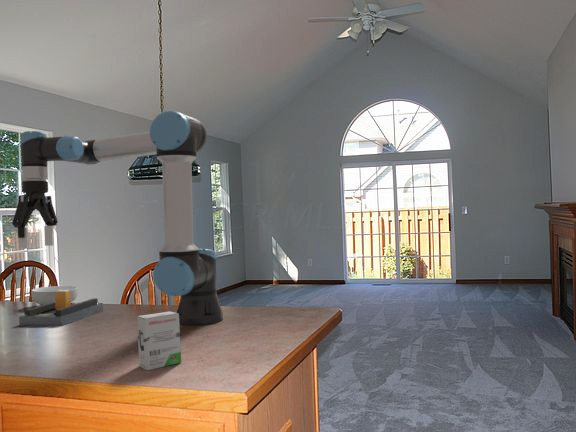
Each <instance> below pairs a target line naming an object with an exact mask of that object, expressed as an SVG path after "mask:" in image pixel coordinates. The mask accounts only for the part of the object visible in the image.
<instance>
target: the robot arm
mask: <svg viewBox="0 0 576 432" xmlns="http://www.w3.org/2000/svg"><path fill="white" fill-rule="evenodd" d="M47 135H48V134H47V133H46V132H45V131H38V130H32V131H31V130H27V131H23V132H22V133H21V136H20V151H21V154H20V155H21V176H22V177H21V179H22V180H23V181H22V182H21V190H22V191H21V192H22V193H24V194H25V195H24V194H23V195H21V194H20V195H18V202H17V206H16V209H15V213H14V216H13V219H12V223H11V224H12V226H13V227H14V228H17V237H18V239H17V240H18V249H19V250H20V249H21V250H22V249H23V250H24V249H29V228H28V227H27V225H28V222H29V220H30V219H31V216H32V214H33V212H34V211H37V212H39V214H40V216H41V218H42V220H43V221H44V224H45V225H44V226H43V227H44V228H43V229H44V246H46V247H47V246H48V247H49V246H54V245H55V243H54V226H56V227H57V224H58V222H59V221H58V219H57V215H56V211H55V209H54V206H53V202H52V196H51V195H45V194H47V193H48V192H49V182H48V181H47V180H48V179H49V173H48V171H49V170H48V167H49V166H48V162H57V161H58V162H69V163H78V164H84V165H87V166H88V165H97V164H99V163H100V162H107V161H108V162H109V161H114V160H122V159H123V160H124V159H130V158H131V159H132V158H138V157H147V156H154V155H156V159H157V160H158V161H159V162H160V163H161V168H162V170H161V171H162V198H163V199H162V201H163V202H162V203H163V204H162V205H163V206H162V207H163V209H162V210H163V242H164V243H163V245H162V247H161V248H160V249H159V253H158V254H159V255H158V256H159V260H158V262H157V263H156V264H155V266H154V269H153V272H152V273H153V281H154V284H155V286H156V288H157V289H159V290H160V292H161V293H163V294H164V295H166V296H170V297H178V296H179V301H178V305H177V308H176V311H175V313H178V314H179V323H180V325H185V326H186V325H187V326H188V325H190V326H195V325H199V326H200V325H209V324H214V323H218V322H221V321H223V320H224V313H223V309H222V306H221V303H220V300H219V298H218V294H217V293H218V292H217V291H218V289H217V287H218V286H217V259H216V252H215V251H214V250H213V249H210V248H199V247H198V246H197V245H196V244H195V243H194V212H193V210H194V209H193V173H192V172H193V171H192V165H193V162H194V161H195V160H197V153H198V152H199V151H201V150H202V149H203V148H204V146H205V145H206V142H207V137H208V136H207V135H208V134H207V130H206V128H205V126H204V124H203V123H202V121H200V120H199V119H198V118H195V117H192V116H189V115H186V114H185V113H184V112H181V111H175V110H166V111H162V112H161V113H159V114H158V115H157V116H155V117H154V119H152V122H151V123H150V127H149V131H146V132H145V131H144V132H139V133H138V132H137V133H132V134H125V135H124V134H123V135H118V136H112V137H104V138H98V139H97V138H96V139H92V140H82V139H80V138H79V137H78V136H75V135H72V136H71V135H63V136H54V137H53V136H50V137H48V136H47Z"/></svg>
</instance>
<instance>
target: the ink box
mask: <svg viewBox="0 0 576 432" xmlns="http://www.w3.org/2000/svg"><path fill="white" fill-rule="evenodd" d="M136 318H137V319H136V320H137V341H138V343H137V344H138V345H137V346H138V366H139V367H140V368H142V369H144V370H146V371H150V370H155V369H159V368H164V367H168V366H173V365H177V364H181V363H182V349H181V328H180V326H181V324H180V323H179V314H178V313H176V312H173V311H163V312H157V313H150V314H143V315H137V317H136Z"/></svg>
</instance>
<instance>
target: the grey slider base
mask: <svg viewBox="0 0 576 432" xmlns="http://www.w3.org/2000/svg"><path fill="white" fill-rule="evenodd" d="M80 302H81V301H79V302H71V305H74V304H77V303H80ZM56 310H58V309H55V307H54V308H51V309H48V310H44V311H41V312H38V313H37V314H34V315H31V316H28V315H25V314H23V315H19V316H18V325H19V326H20V327H22V326H23V327H63V326H65V325H69V324H71V323H74V322H77V321H80V320H82V319H85V318H87V317H90V316H93V315H96V314H98V313H101V312H103V311H104V303H103V302H98V303H97V304H95V305H92V306H89V307H86V308H83V309H80V310H77V311H74V312H71V313H68V314H65V315H62V316H56Z"/></svg>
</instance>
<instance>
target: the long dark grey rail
mask: <svg viewBox="0 0 576 432" xmlns="http://www.w3.org/2000/svg"><path fill="white" fill-rule="evenodd" d="M98 300H99V299H98V298H90V299H88V300H84V301H79V302H80V303H77V302H76V303H77V304H74V305H71V306H67V307H64V308H61V309H58V310H56V316H62V315H65V314H68V313H71V312H74V311H77V310H80V309H83V308H86V307H89V306H92V305H95V304H97V303H99V301H98Z"/></svg>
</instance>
